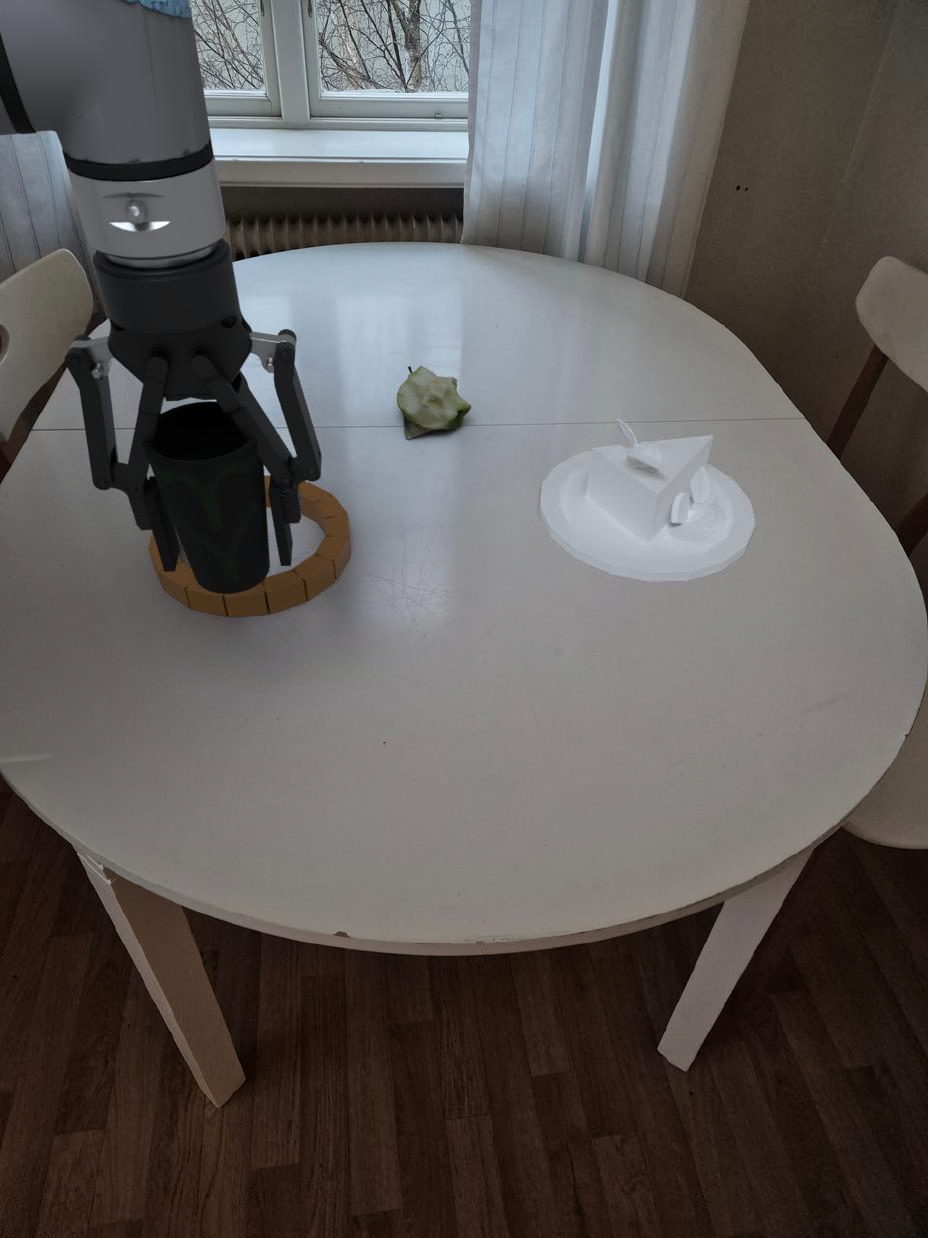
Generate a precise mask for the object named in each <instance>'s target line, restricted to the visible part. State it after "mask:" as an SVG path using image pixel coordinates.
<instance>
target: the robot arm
mask: <svg viewBox="0 0 928 1238" xmlns="http://www.w3.org/2000/svg"><path fill="white" fill-rule="evenodd" d="M193 19H194V18H193V9H192V7H191V4H190V0H0V136H7V135H9V136H10V135H31V134H33V135H34V134H37V133H38V132H55V133H56V136H57V138H58V141H59V143H60V146H61V152H62V155H63V159H64V163H65V167H66V172H67V174H68V177H69V181H70V184H71V185H70V186H71V188H72V192H73V194H74V198H75V202H76V205H77V208H78V213H79V215H80V219H81V222H82V227H83V230H84V233H85V236H86V241H87V243H88V244H89V245H90V246H91V247H92V248H93V249H94V250H96V251H95V253H94V254H93V256H92V264H93V268H94V271H95V274H96V275H95V276H96V278H97V283H98V285H99V289H100V294H101V296H102V300H103V303H104V307H105V311H106V314H107V317H108V320H109V323H110V324H109V325H110V326H109V327H110V330H109V334H108V335H106V336H101V337H97V338H93V339H92V338H91V337H90V336H89V335H85V334H78V335H76V336H75V337H74V339H73V340H72V342H71V344H70V346H69V348H68V350H67V352H66V354H65V356H64V360H63V361H64V364H65V366H66V368H67V371H68V372H69V373H70V375H71V378H73V381H74V382H75V384H76V386H77V388H78V390H79V398H80V405H81V411H82V419H83V426H84V431H85V437H86V438H85V440H86V445H87V452H88V458H89V459H88V460H89V466H90V473H91V481H92V484H93V486H94V487H95V488H96V489H98V490H100V491H108V490H110V489H115V490H116V489H117V490H119V491H121V492H122V493H124V494H125V495H126V496H127V498H128V501H129V505H130V508H131V511H132V514H133V518H134V521H135V524H136V527H137V528H138V529H139V530H140V531H141V532H142V531H151V532H152V531H153V535H154V538H155V541H156V545H157V548H158V552H159V555H160V558H161V562H162V565H163V569H164V572H174V571H175V569H176V565H177V561H178V556H179V552H180V545H179V541H178V538H177V534H176V530H175V527H174V524H173V521H172V519H171V516H170V514H169V511H168V509H167V506H166V503H165V501H164V498H163V496H162V493H161V491H160V488H159V486H158V483H157V481H156V478H155V476H154V475H149V477H148V472H149V470H150V463H149V461H148V458H147V456H146V453H145V451H144V448H143V446H142V443H143V442H147V443H149V445H150V446H151V448H152V446H153V443H154V440H155V436H156V432H157V428H158V423H159V419H160V414H161V413H162V410H163V405H164V401H165V402H180V401H183V400H187V399H196V400H201V401H217V403H218V404H219V405H220V407H221V408H222V410H223V411H224V412H225V413H226V414H229V415H230V416H231V418H232V419H233V421H234V422H235V424H236V425H237V426H238V428H239V429H240V431H241V432H242V434H243V435H244V437H245V438H246V440H247V441H248V442H249V440H250V439H251V438H256V439H257V451H258V457H259V459H260V460H261V462H262V463H263V465H264V469H266V471H267V472H268V474H269V475H270V483H269V492H268V495H269V501H270V507H269V508H270V512H271V518H272V524H273V530H274V536H275V541H276V548H277V554H278V559H279V565H280V567H292V558H293V547H294V546H293V545H294V543H293V542H294V541H293V535H292V529H291V524H300V522H301V519H302V514H301V513H302V502H301V495H300V488H299V484H300V483H301V482H304V481H306V482H310V483H313V482H314V483H315V482H317V481H319V480H320V479H321V476H322V463H323V460H322V459H323V458H322V457H323V455H322V451H321V446H320V443H319V439H318V437H317V434H316V430H315V427H314V423H313V421H312V417H311V414H310V409H309V407H308V404H307V400H306V396H305V394H304V391H303V387H302V384H301V380H300V377H299V373H298V371H297V367H296V364H295V363H296V355H297V353H296V352H297V340H298V338H297V335H296V333H295V332H294V331H293V330H292V329H289V328H283V329H281V330H279V332H278V333H277V334H271V333H265V332H258V331H253V329H252V327H251V325H250V324H249V322H248V321H247V320H246V319H245V317H244V315H243V313H242V309H241V304H240V297H239V293H238V288H237V287H238V286H237V281H236V280H237V279H236V275H235V268H234V264H233V258H232V257H233V256H232V252H231V247H230V245H229V243H228V242H227V241H226V240H225V239H224V238H223V236H224V235H225V233H226V231H227V220H226V213H225V208H224V203H223V198H222V197H223V196H222V191H221V186H220V185H221V184H220V179H219V178H220V177H219V172H218V166H217V161H216V160H217V159H216V156H215V154H214V148H213V143H212V136H211V135H212V134H211V130H210V123H209V117H208V111H207V103H206V97H205V90H204V83H203V78H202V71H201V65H200V58H199V52H198V46H197V38H196V33H195V27H194V20H193ZM250 354H253V355H255V356H257V357H258V359H259V360H260V362H261V366H262V368H263V370H265V371H266V372H267V373H269V374H273V386H274V390H275V393H276V396H277V400H278V402H279V406H280V409H281V412H282V414H283V417H284V421H285V425H286V428H287V430H288V433H289V436H290V439H291V443H292V447H293V448H294V452H295V455H296V456H294V455H293V454H292V452H291V451H290V450H289V448H288V446H287V445H286V443H285V441H283V439H282V437H281V435H280V434H279V432H278V431H277V429H276V428H275V426H274V424H273V423H272V422H271V420H270V418H269V416H268V415H267V414H266V412H265V411H264V408H263V407H262V406H261V404H260V403H259V401H258V400H257V398H256V397H255V395H254V394H253V392H252V391H251V389H250V387H249V383H248V380H247V378H246V377H245V375H244V374H243V372H242V370H241V369H242V368H243V366H244V365H245V363H246V361H247V360H248V358H249V356H250ZM112 359H115V360H116V361H117V362H118V363H119V364H120V365H121V366H122V367H124V368H125V369H126V370H127V371H128V372H129V373H130V374H131V375H133V377H135V378H136V379H137V380H138V381H139V382H141V383H142V388H141V394H140V398H139V402H138V409H137V416H136V421H135V426H134V431H133V436H132V441H131V446H130V451H129V456H128V461H127V463H125V462H120V461H119V453H118V444H117V436H116V428H115V420H114V411H113V403H112V395H111V394H112V393H111V386H110V378H109V373H110V370H111V369H112V366H113V362H112ZM180 553H181V552H180Z"/></svg>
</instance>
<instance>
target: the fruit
mask: <svg viewBox="0 0 928 1238" xmlns="http://www.w3.org/2000/svg"><path fill="white" fill-rule="evenodd" d="M407 369H408V371H409V374H408V375H407V378H406V380H405V381H404V382H403V383H402V384H401V385H399V388H398V390H397V393H396V404H397V407H398V409H399V411H400V412H401V414H402V418H403V430H404V431H403V432H404V433H403V434H404V438H405V440H408V441H409V440H411V439H413V438H415V437H418V436H421V435H423V434H426V433H428V432H431V431H437V430H446V431H450V430H453V429H457V428H460V427H461V426H462V425H463V423H464V418H465V416H466V415H468V413H470V411H471V410H472V404H470V403H468V401H466V400H465V399H463V398H462V397H461V395H460V394H459V393H458V390H457V388H458V379H457V378H455V377H453V376H439V375H438V376H437V374H436V372H434V371H431V370H430V369H428V367H426V366H423V365H420V366H419V367H417V369H416V370H414V371H413V370H412V366H411V365H409V366H407Z"/></svg>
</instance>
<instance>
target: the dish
mask: <svg viewBox="0 0 928 1238" xmlns="http://www.w3.org/2000/svg"><path fill="white" fill-rule="evenodd" d="M614 421H615V424H616V426H617V428H618V430H619V432H620V434H621V436H622V437H623V438H624V440H625V441H626V442H627V443H622V444H612V445H602V446H594V447H592V448H591V449H590V450H586V451H581V452H578V453H576V454H574V455H572V456H570V457H569V458H566V459H565V460H564V461H562V462H560V463H558V464H557V465H555V466H554V467H553V469H552V470H551V471H550V473H548V475H547V476H546V477H545V479H544V480H543V482H542V483H541V487H540V498H539V510H538V516H539V518H540V520H541V522H542V524H543V526H544V528H545V530H546V532H547V534H548V536H549V538H550V539H551V540H552V541H554V542H555V543H556V545H558V546H559V547H561V548H562V549H563V550H564V551H565V552H566V553H567V554H568V555H570V556H571V557H572V558H573V559H576V560H577V561H579V562H581V563H584V564H586V565H589V566H590V567H593V568H595V569H597V570H599V571H601V572H604V573H606V574H608V575H612V576H617V577H623V578H627V579H632V580H637V581H642V582H645V583H646V582H647V583H664V582H665V583H666V582H667V583H668V582H689V581H693V580H696V579H699V578H703V577H708V576H710V575H713V574H717V573H720V572H723V571H724V570H725V569H726V568H728V567H729V566H730V565H732V564H733V563H734V562H736V561H737V560H738V559H739V558H741V557H742V556H743V555H745V553H746V550H747V548H748V544H749V543H750V541H751V538H752V535H753V533H754V530H755V527H756V519H755V514H754V509H753V505H752V501H751V499H750V498H749V497H748V496H747V494H746V493H745V492H744V491H743V490H742V489H741V487H740V486H739V485H738V483H737V482H736V481H735V480H734V479H733V478H731V477H730V476H728V475H727V474H725V473H724V472H722V471H720V470H719V469H717V468H716V467H715V466H713V465H711V464H710V463H709V462H708V460H709V457H710V453H711V450H712V445H713V441H714V437H715V434H710V435H700V436H691V437H682V438H681V437H680V438H670V439H662V440H653V441H647V440H644V441H643V442H642V441H641V442H638V440H637V437H636V436H635V433H634V431H633V430H632V428H631V427H630V426H629V425H628V424H627V423H626V422H624V421H623V420H621V419H619V418H615V419H614Z"/></svg>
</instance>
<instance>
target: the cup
mask: <svg viewBox="0 0 928 1238" xmlns="http://www.w3.org/2000/svg"><path fill="white" fill-rule="evenodd" d="M142 446H143V448H144V451H145V453H146V456H147V458H148V461H149V463H150V464H149V467H150V468H151V471H152V473H153V476H155V478H156V481H157V483H158V486H159V488H160V491H161V493H162V496H163V498H164V501H165V503H166V506H167V509H168V511H169V514H170V516H171V519H172V521H173V524H174V526H175V529H176V531H177V534H178V536H179V539H180V541H181V544H182V549H183V551H184V554H185V556H186V558H187V561H188V564H189V567H190V568H191V569H192V571H193V574H194V576H195V579H196V581H197V582H198V584H199V585H200V586H201V587H202V588H204V589H206V590H208V591H210V592H214V593H218V594H233V593H239V592H243V591H246V590H248V589H251V588H253V587H255V586H256V585H258V584H259V583H261V582H262V581H263V580H264V579H265V578H266V577H268V574H269V572H270V568H271V560H270V559H271V558H270V544H269V543H270V542H269V526H268V511H267V510H268V509H267V507H266V493H265V477H264V476H265V466H264V465H263V463H262V462H261V460H260V459H259V457H258V451H257V439H256V438H251V439H250V440H249V442H248V441H247V440H246V438H245V437H244V435H243V434H242V432H241V431H240V429H239V428H238V426H237V425H236V424H235V422H234V421H233V419H232V418H231V416H230V415H229V414H226V413H225V412H224V411H223V410H222V408H221V407H220V405H219V404H218V403H217V401H216V400H205V401H196V402H190V403H185V404H182V405H178V406H175V407H173V408H169V409H168V410H166V411H164V412H161V414H160V419H159V423H158V428H157V432H156V436H155V440H154V443H153V446H152V448H151V446H150V445H149V443H147V442H143V443H142Z"/></svg>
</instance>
